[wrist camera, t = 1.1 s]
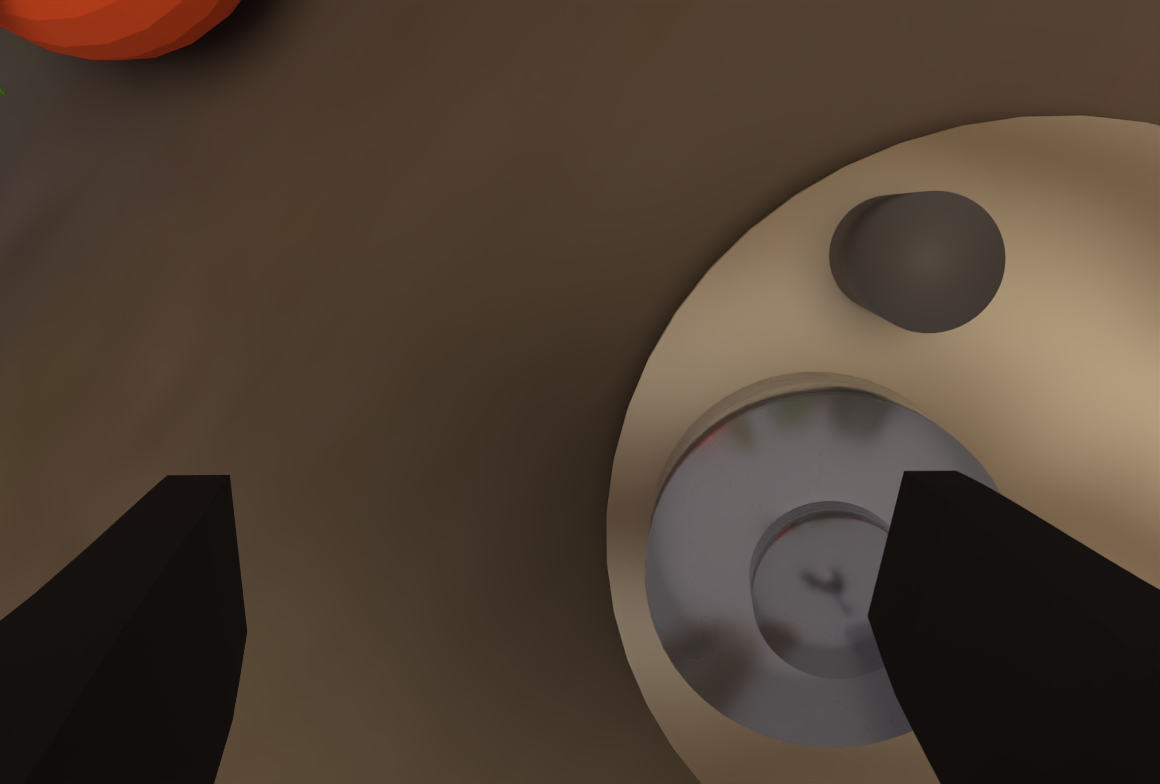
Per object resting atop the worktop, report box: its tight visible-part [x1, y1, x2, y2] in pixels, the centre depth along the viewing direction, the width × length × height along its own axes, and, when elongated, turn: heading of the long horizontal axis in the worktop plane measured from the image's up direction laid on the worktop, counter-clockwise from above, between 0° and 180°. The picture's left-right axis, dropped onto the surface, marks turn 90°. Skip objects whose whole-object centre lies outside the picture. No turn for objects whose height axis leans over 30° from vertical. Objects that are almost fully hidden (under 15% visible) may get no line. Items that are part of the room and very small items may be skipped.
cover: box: [645, 372, 1001, 748], centre depth 20 cm, size 7×7×4 cm
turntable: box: [607, 116, 1160, 784], centre depth 21 cm, size 18×18×5 cm
